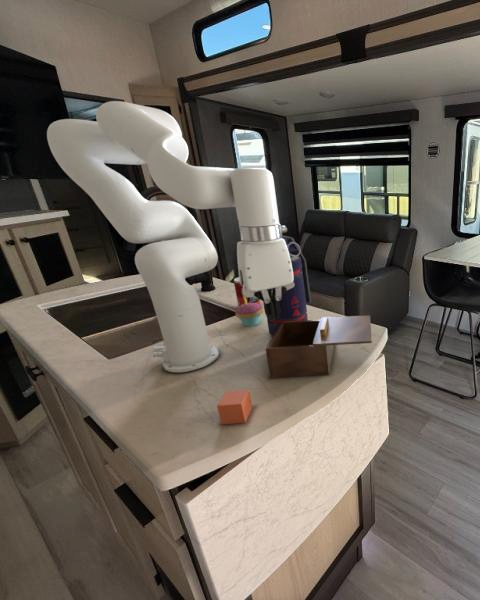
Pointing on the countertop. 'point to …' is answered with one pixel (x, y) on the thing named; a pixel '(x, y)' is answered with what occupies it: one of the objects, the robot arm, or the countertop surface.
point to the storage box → (297, 351)
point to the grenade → (293, 290)
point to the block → (235, 407)
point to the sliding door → (343, 330)
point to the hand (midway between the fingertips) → (273, 317)
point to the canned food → (240, 296)
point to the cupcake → (249, 313)
